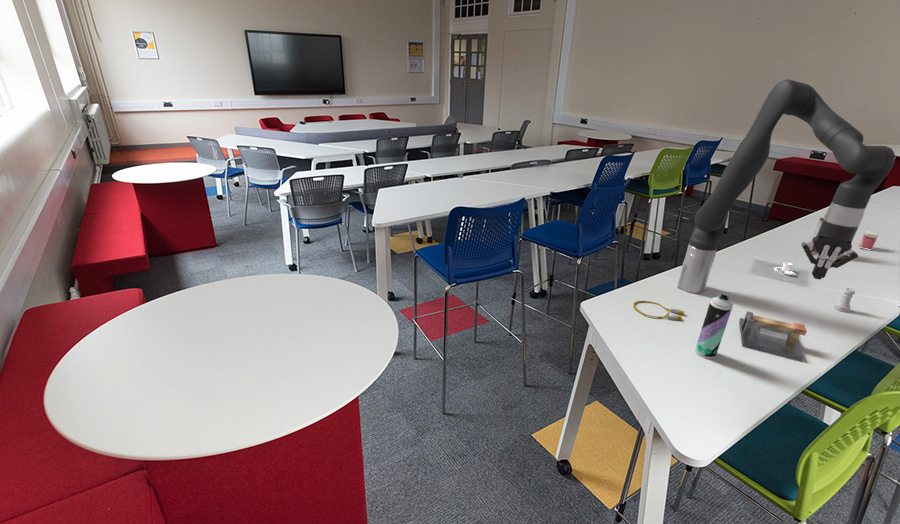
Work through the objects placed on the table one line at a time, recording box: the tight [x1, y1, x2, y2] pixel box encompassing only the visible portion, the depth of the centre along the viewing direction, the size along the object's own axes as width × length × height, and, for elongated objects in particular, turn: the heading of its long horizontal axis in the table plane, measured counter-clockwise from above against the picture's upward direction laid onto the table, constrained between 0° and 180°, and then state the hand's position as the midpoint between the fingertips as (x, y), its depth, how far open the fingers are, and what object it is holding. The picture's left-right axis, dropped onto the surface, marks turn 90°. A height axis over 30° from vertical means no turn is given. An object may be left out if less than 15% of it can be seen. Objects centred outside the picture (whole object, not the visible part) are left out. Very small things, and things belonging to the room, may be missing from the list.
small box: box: [858, 230, 879, 250], centre depth 211 cm, size 5×4×8 cm
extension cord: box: [632, 300, 685, 321], centre depth 152 cm, size 12×16×2 cm
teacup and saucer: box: [773, 261, 797, 277], centre depth 185 cm, size 9×8×4 cm
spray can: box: [694, 292, 734, 360], centre depth 127 cm, size 6×6×20 cm
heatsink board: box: [738, 311, 804, 362], centre depth 137 cm, size 15×16×7 cm
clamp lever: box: [745, 313, 808, 337], centre depth 136 cm, size 15×4×2 cm, turn 62°
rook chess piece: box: [833, 287, 856, 313], centre depth 156 cm, size 4×4×8 cm
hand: (816, 278), depth 127 cm, fingers closed
